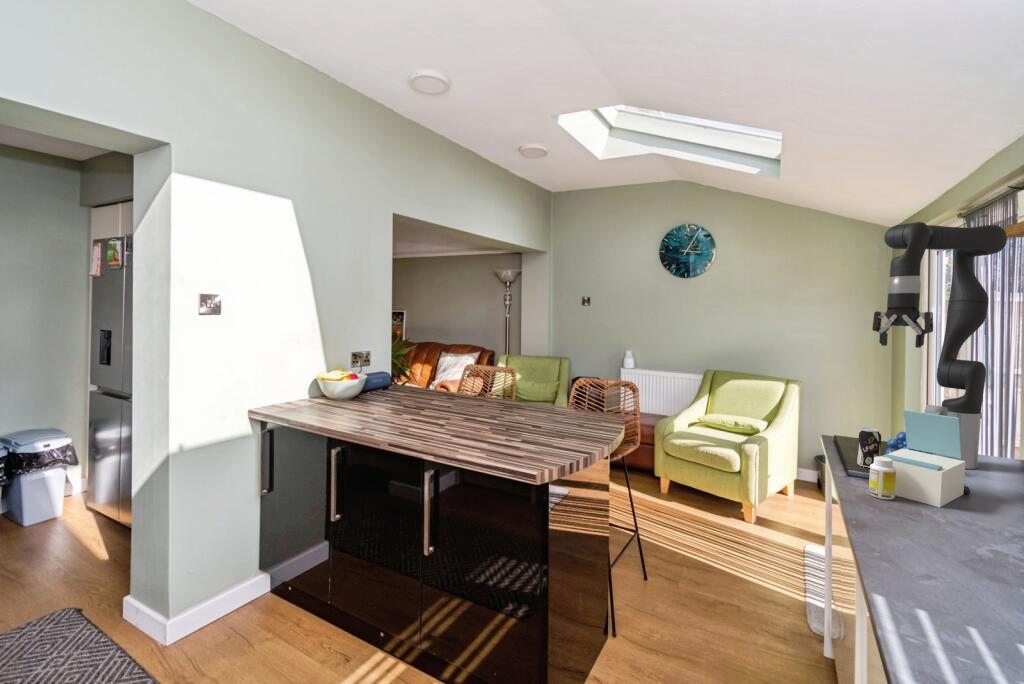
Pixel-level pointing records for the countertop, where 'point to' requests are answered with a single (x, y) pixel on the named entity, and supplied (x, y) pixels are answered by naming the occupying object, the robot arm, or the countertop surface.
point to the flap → (933, 431)
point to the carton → (927, 477)
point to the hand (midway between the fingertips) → (900, 346)
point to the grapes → (900, 443)
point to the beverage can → (868, 446)
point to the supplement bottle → (882, 478)
